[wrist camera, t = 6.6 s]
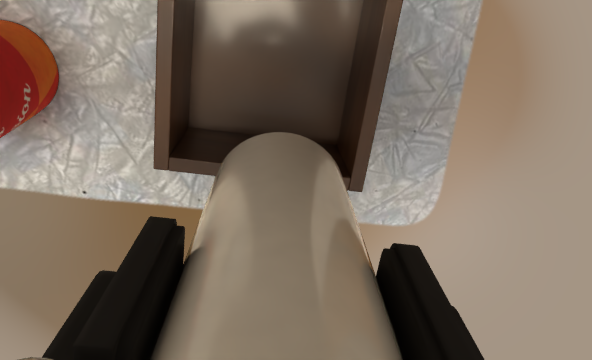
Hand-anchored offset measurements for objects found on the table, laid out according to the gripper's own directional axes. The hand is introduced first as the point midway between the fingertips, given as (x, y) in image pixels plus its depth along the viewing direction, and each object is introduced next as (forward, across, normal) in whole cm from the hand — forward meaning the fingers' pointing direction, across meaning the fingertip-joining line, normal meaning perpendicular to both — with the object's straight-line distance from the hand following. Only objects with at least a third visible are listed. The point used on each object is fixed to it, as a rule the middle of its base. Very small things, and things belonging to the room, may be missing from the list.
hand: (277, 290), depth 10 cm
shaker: (+5, 0, 0) cm, 5 cm away
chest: (+21, +1, -3) cm, 22 cm away
